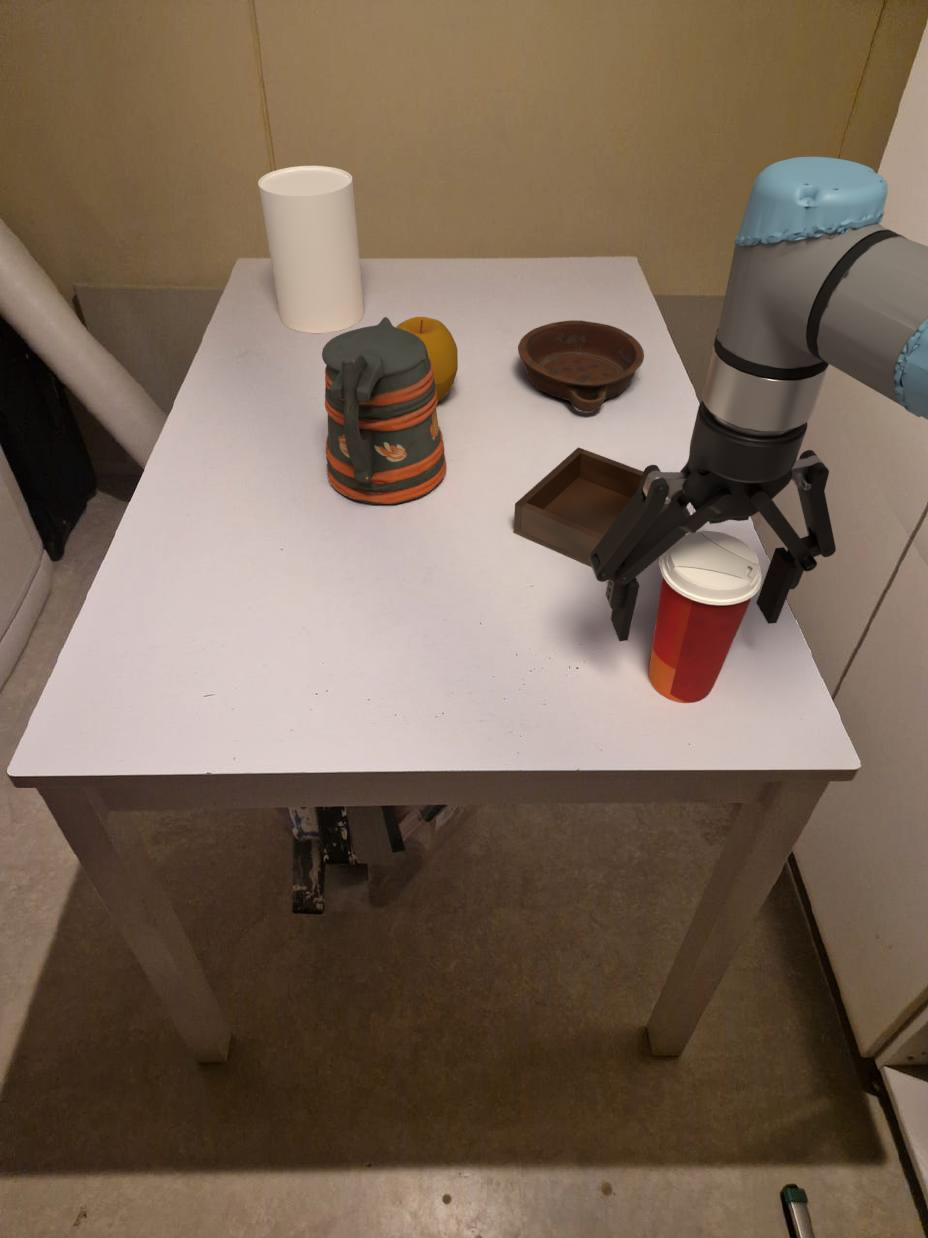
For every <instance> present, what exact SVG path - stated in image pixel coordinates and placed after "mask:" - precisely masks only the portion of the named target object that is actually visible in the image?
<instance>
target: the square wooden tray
mask: <svg viewBox="0 0 928 1238" xmlns="http://www.w3.org/2000/svg"><path fill="white" fill-rule="evenodd" d="M643 472H644V470H641V469H639V468H635V467H632V466H631V465H627V464H625V463H623V462H619V461H617V460H614V459H611V458H609V457H605V456H603V455H600V454H598V453H595V452H593V451H590V450H587V449H584V448H581V447H579V446H578V447H576V449H574V450H573V451H572V452H571V453H570V454H568V456H566V457H565V458H564V459H563V460H562V461H561V462H560V463H559V464H558V465H556V466H555V467H554V468H553V469H552V470H551V471H550V472H548V474H546V475H545V476H544V477H543V478H542V479H541V480H539V482H538V483H536V484H535V485H534V486H533V487H532V488H531V489H529V490H528V491H527V492H526V493H525V494H524V495H523V496H521V498H519V499H518V500H517V501H516V502H515V503H514V516H513V517H514V518H513V533H514V534H516V535H518V536H520V537H523V538H525V539H526V540H529V541H531V542H534V543H535V544H538V545H541V546H543V547H545V548H548V549H550V550H552V551H554V552H557V553H559V554H561V555H564V556H566V557H568V558H570V559H573V560H575V561H577V562H579V563H581V564H583V565H586V566H589V567H591V568H592V566H591V564H590V561H589V555H590V554H591V552H592V551H593V550H594V548H595V547H596V546H597V544H598V543H599V542H600V540H601V539H602V537H603V536H604V535H605V533H606V532H607V531H608V529H609V528H610V527H611V525H612V524H613V522H614V521H615V520H616V518H617V517H618V516H619V514H620V513H621V512H622V510H623V509H624V508H625V506H626V505H627V503H628V502H629V501H630V499H631V498H632V497H633V495H634V494H635V493H636V491H637V490H638V487H639V484H640V481H641V478H642V475H643ZM679 491H680V490H679ZM679 491H677V492H675V493H674V494H673V495H672V496H671V498H672V497H673V496H674V495H675V494H676V493H678V492H679ZM667 507H668V504H664V506H663V508H662V510H661V512H660V513H662V512H663V511H664V510H665V509H666V508H667Z"/></svg>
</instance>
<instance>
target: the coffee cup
mask: <svg viewBox="0 0 928 1238" xmlns="http://www.w3.org/2000/svg"><path fill="white" fill-rule="evenodd" d="M658 559H659V560H658V566H659V569H660V572H661V575H662V577H661V584H660V590H659V591H660V592H659V598H658V605H657V610H656V618H655V625H654V632H653V639H652V646H651V653H650V662H649V671H648V672H649V673H648V674H649V682H650V683H651V686H652V687H653V689H654V690H655V691H656V692H657V693H658V694H660V695H661V696H662V697H664V698H666V699H668V700H671V701H673V702H676V703H682V704H691V703H697V702H700V701H702V700H704V699H705V698H706V697H708V696H709V695H710V693H711V692H712V690H713V689H714V686H715V684H716V682H717V681H718V677H719V675H720V673H721V670H722V668H723V666H724V664H725V661H726V659H727V656H728V654H729V652H730V649H731V646H732V645H733V643H734V639H735V637H736V635H737V632H738V631H739V628H740V626H741V624H742V621H743V620H744V617H745V615H746V614H747V613H746V612H747V610H748V608H749V605H750V602H751V600H752V597H754V596H755V595H756V594H757V593H758V592H759V591H760V589H761V587H762V583H763V575H762V571H761V565H760V561H759V558H758V555H757V554H756V552H755V550H753V548H752V547H750V546H749V544H747V543H746V542H744V541H743V540H742V539H740V538H738V537H735V536H733V535H730V534H728V533H724V532H719V531H715V530H698V531H696V532H695V533H687V534H686V535H685V536H683V537H682V538H681V539H680V540H679V541H678V542H676V543H675V544H674V545H673V546H672V547H671V548H669V549H668V550H667V551H666V552H665V553H664V554H662V555H661V556H660V557H659V558H658Z"/></svg>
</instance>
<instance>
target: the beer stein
mask: <svg viewBox="0 0 928 1238" xmlns="http://www.w3.org/2000/svg"><path fill="white" fill-rule="evenodd" d="M396 327H397V326H394V325H393V324H392V322H391V320H390V318H389V317H387V316H385V317H383V318H382V319H381V320H380V322H379V323H378V324H376V325H369V326H364V327H359V328H356V329H352V330H349V331H346V332H345V331H344V332H342V333H340V334H339V335H336V336H334V337H333V338H331V339H330V340H328V342H326V343H325V345H324V346H323V347H322V352H321V358H322V361H323V363H324V364H325V369H324V382H325V385H324V386H325V389H324V393H325V394H324V407H325V410H326V413H327V436H326V440H325V455H326V467H327V469H326V472H327V473H326V475H327V478H328V481H329V483H330V485H331V486H333V489H334V490H335V491H337V493H340V495H342V496H344V497H346V498H348V499H350V500H352V501H356V502H361V503H366V504H372V505H380V504H381V505H382V504H383V505H396V504H397V505H398V504H401V503H405V502H408V501H411V500H417V499H420V498H421V497H423V496H426V495H427V494H428V493H430V492H431V491H432V490H433V489H435V488H436V487H437V485H439V484H440V483H441V482H442V480H443V479H444V477H445V475H446V472H447V461H446V456H445V445H444V438H443V437H444V436H443V433H442V430H441V428H440V427H439V419H438V411H437V406H438V402H437V390H436V386H435V379H434V371H433V364H432V362H431V360H430V359H429V357H428V352H427V349H426V345H425V344H424V342H423V341H422V340H421V339H420V338H419V337H418V336H416V335H414V334H413V333H410V332H408V331H405V330H402V329H399V328H396Z"/></svg>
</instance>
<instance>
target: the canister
mask: <svg viewBox="0 0 928 1238" xmlns="http://www.w3.org/2000/svg"><path fill="white" fill-rule="evenodd" d="M257 184H258V190H259V197H260V202H261V209H262V214H263V220H264V226H265V227H264V228H265V233H266V239H267V245H268V251H269V252H268V253H269V257H270V263H271V270H272V277H273V282H274V288H275V289H274V290H275V294H276V301H277V307H278V313H279V318H280V321H281V323H282V325H284V326H285V327H287V328H289V329H291V330H293V331H296V332H300V333H305V334H328V333H335V332H339V331H344V330H346V329H349V328H351V327H354V326H355V325H356V324H358V323H360V322H361V320H363V318H364V316H365V304H364V292H363V282H362V281H363V280H362V270H361V260H360V248H359V238H358V237H359V236H358V227H357V226H358V225H357V214H356V213H357V212H356V203H355V202H356V201H355V192H354V182H353V176H352V175H351V174H350V172H348V171H346V170H344V169H341V168H338V167H333V166H332V167H331V166H325V165H299V166H290V167H285V168H280V169H276V170H273V171H269V172H268V173H266V174H264V175H262V176H261V177H260V178H259V179H258V182H257Z"/></svg>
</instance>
